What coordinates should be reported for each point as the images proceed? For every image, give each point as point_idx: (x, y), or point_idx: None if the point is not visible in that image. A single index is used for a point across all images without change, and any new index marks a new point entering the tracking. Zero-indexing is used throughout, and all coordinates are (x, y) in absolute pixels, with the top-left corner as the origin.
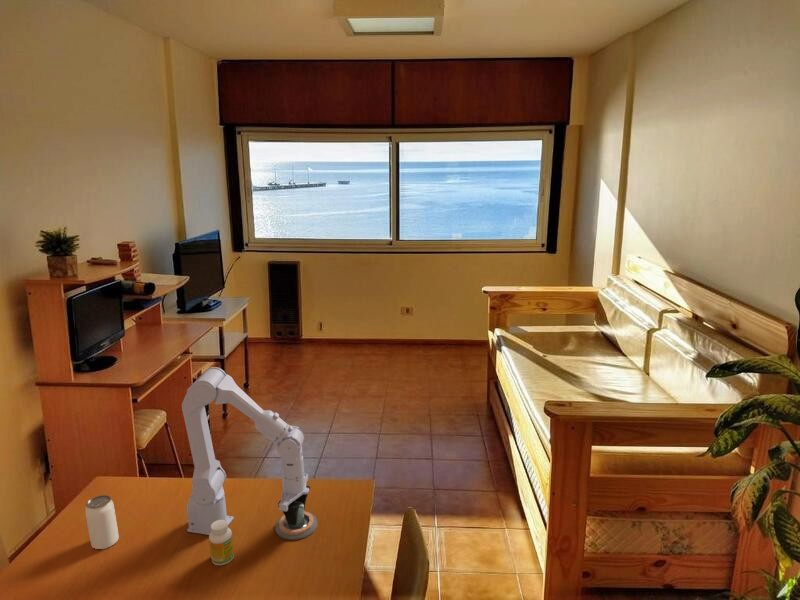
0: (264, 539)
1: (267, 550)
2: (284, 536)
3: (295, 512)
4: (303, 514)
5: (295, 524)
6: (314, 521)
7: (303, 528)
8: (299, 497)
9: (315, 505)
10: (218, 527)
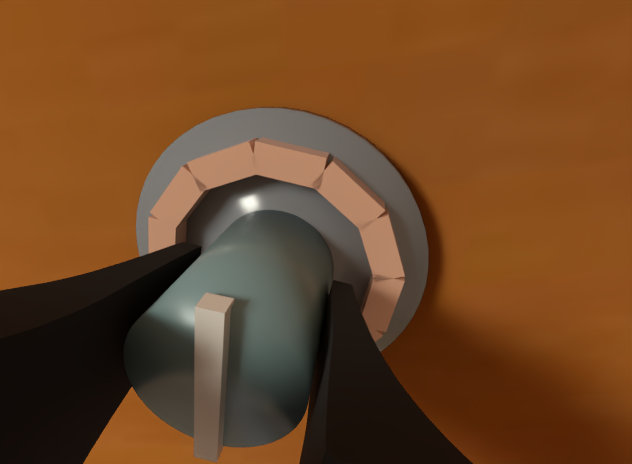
0: None
1: (506, 385)
2: (408, 321)
3: (424, 416)
4: (253, 251)
5: (352, 289)
6: (238, 134)
7: (359, 212)
8: (83, 380)
9: (44, 158)
10: None
